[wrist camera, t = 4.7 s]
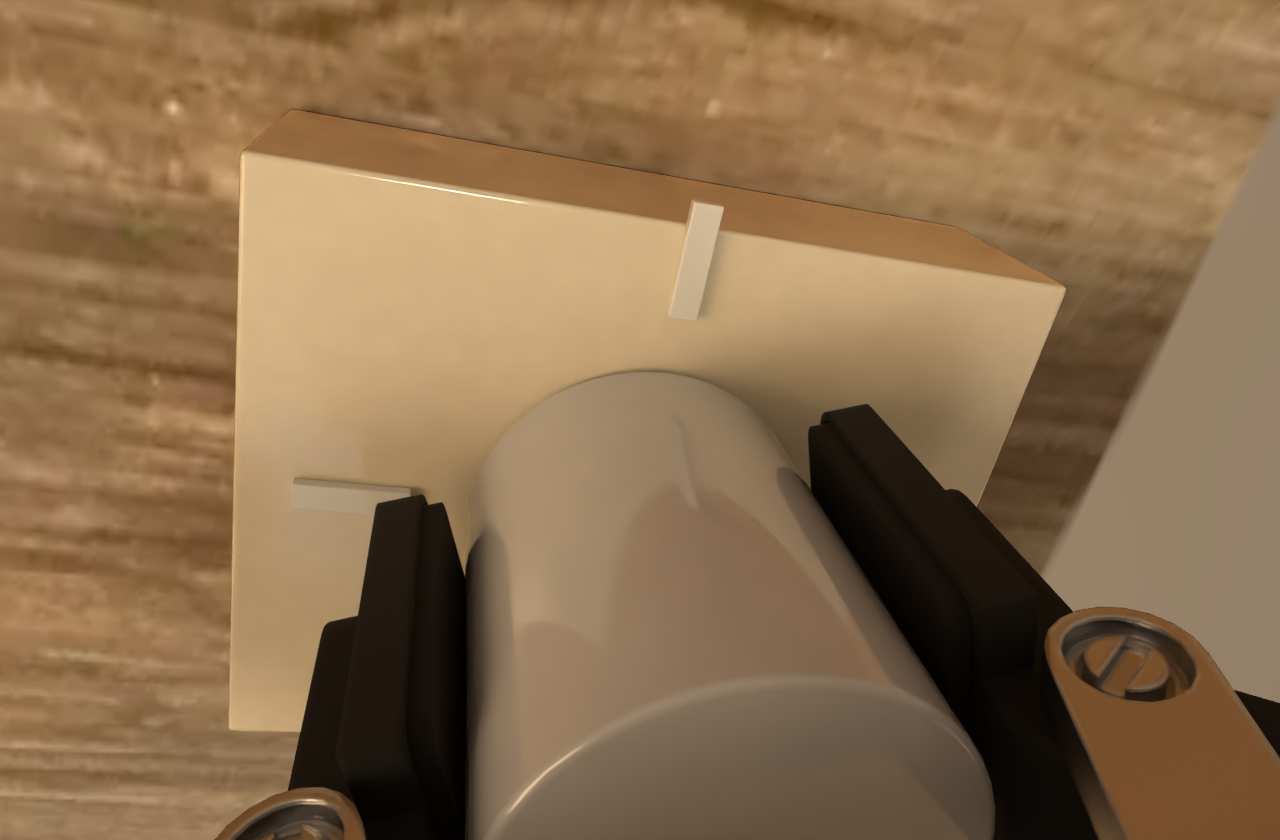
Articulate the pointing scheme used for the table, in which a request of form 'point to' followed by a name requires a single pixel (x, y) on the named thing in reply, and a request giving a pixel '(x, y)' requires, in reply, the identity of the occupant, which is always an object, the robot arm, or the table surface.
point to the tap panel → (555, 341)
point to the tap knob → (687, 641)
